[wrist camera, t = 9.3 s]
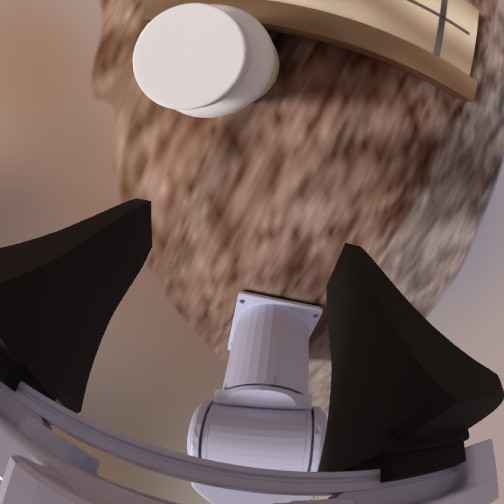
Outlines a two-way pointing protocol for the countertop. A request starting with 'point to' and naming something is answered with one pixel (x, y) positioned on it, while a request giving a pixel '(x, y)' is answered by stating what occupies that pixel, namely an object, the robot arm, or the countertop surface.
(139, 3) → the countertop surface
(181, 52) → the supplement bottle
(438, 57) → the board
